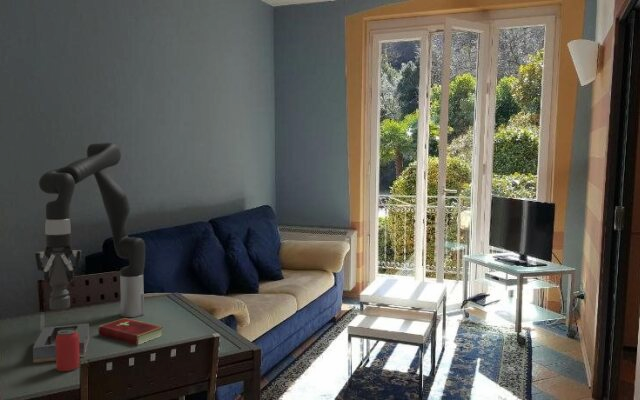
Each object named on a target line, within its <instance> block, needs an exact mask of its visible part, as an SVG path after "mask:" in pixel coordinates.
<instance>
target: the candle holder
mask: <svg viewBox="0 0 640 400" xmlns="http://www.w3.org/2000/svg"><path fill="white" fill-rule="evenodd" d="M52 249H53V251H52V252H51V253H50V254H51V255H55V257H54V260H53V262H52V264H51V266H52V267H51V271H50V278H49V283H48V284H49V285H50V286H51V287H52V290H51V292H50V293H49V296H50V297H49V300H48V301H49V310H52V311H56V310H57V311H59V310H64V309H65V310H66V309H69V308H70V307H71V296H70V295H69V294H70V291H69V290H68V289H67V287H68V284H69V283H70V281H69V270H68V267H67V265H66V264H65V262H64V260H63V259H62V257H61V256H60V255H63V253H64V254H66V252H65V251H63V249H64V247H61V248H52Z"/></svg>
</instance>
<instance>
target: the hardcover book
mask: <svg viewBox="0 0 640 400" xmlns="http://www.w3.org/2000/svg"><path fill="white" fill-rule="evenodd" d="M162 329H163V326H162V325H161V326H160V325H156V324H153V323H147V322H144V321H139V320H135V319H132V318H128V317H123V318H120V319H117V320H114V321H111V322H107V323H104V324H101V325H99V326H98V330H97V331H98V336H101V337H104V338H108V339H113V340H116V341H120V342H123V343H126V342H127V344H130V343H131V345H135V346H139V345H142V344H144V342H145V343H146V342H149V340H150V341H152V340H154V339H157V338H159V337H162Z"/></svg>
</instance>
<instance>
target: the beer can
mask: <svg viewBox="0 0 640 400" xmlns="http://www.w3.org/2000/svg"><path fill="white" fill-rule="evenodd" d="M55 361H56V362H55V366H56V367H55V368H56V370H57V371H58V372H62V371H63V372H65V371H66V372H71V371H75V370H76V369H77V368H79V367H80V365H79V363H80V358H79V335H78V333H77V329H74V328H68V329H62V330H60V331H58V332H57V336H56V360H55Z"/></svg>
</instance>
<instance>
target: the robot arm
mask: <svg viewBox="0 0 640 400" xmlns="http://www.w3.org/2000/svg"><path fill="white" fill-rule="evenodd" d="M121 158H122V153H121V148H120V147H119V145H117V143H116V144H115V143H113V142H100V143H91V144H89V145H88V146H87V150H86V157H83V158H80V159H76V160H75V161H72V162H71V163H69V164H67V165H65V166H62V167H59V168H56V169H52V170H50V171H47V172H45V173H44V174H42V175H41V176H40V178H39V182H38V187H39V188H40V189H39V190H41V191H42V192H44V193H45V194H50V195H54V194H55V195H57V194H58V195H57V198H56V199H54V200H52V201H48V202H47V203H46V204H45V227H44V228H45V229H44V232H45V249H44V251H37V252H35V253H34V256H35V262H36V268H37V270H38V271H42V272H43V276H44V277H43V278H44V279H43V281H44V282H46V283H47V284H50V283H49V278H50V274H51V271H50V267H51V266H52V262H53V260H54V257H55V255H51V254H50V253H51V252H52V251H53V249H52V248H61V247H64V249H63V251H65V252H66V254H64V253H63V255H60V256H61V257H62V259H63V260H64V262H65V264H66V268H67V269H68V275H69V282H72V280H74V278H75V271H74V270H76V269H79V267H80V265H81V258H82V250H81V249H78V250H77V249H73V248H72V231H71V229H72V228H71V225H72V224H71V218H70V217H71V216H70V215H71V214H70V213H71V212H70V210H71V209H70V206H71V202H72V199H73V194H74V191H75V187H76V185H77V184H80V182H82V181H84V180H85V179H87V178H89V177H90V176H92V175H93V176H94V178H95V181H96V183H97V187H98V188H99V192H100V196H101V198H102V203H103V206H104V210H105V213H106V215H107V218H108V222H109V226H110V230H111V235H112V240H113V245H114V250H115V253H116V255H117V257H118V258H120V259H127V260H129V265H127V266H123V267H122V268H120V271H119V273H120V274H119V277H120V278H119V279H120V282H119V283H120V316H121V317H123V318H133V317H134V318H135V317H136V318H137V317H139V316H145V299H144V297H145V293H144V291H145V290H144V270H145V265H146V244H145V241H144V240H143V238H141V237H131V236H130V237H129V235H128V233H127V229H126V224H127V220H128V217H129V214H130V211H131V208H130V203H129V200H128V197H127V194H126V192H125V190H124V189H123V188H122V186H120V185H119V184H118V182H116V181H115V180H114V178H112V176H111V175H110V173H109V171H108V169H107V168H111V167H114V166H117V165H118V164H119V163H120V161H121ZM72 254H73V256H74V258H75V262H74V263H75V264H74V265H73V263H72V260H71V259H70V257H71V256H72ZM44 256H45V257H46V258H47V259H48V260H47V263H46V264H45V266H44V265H43V260H42V259H43V258H44Z"/></svg>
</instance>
